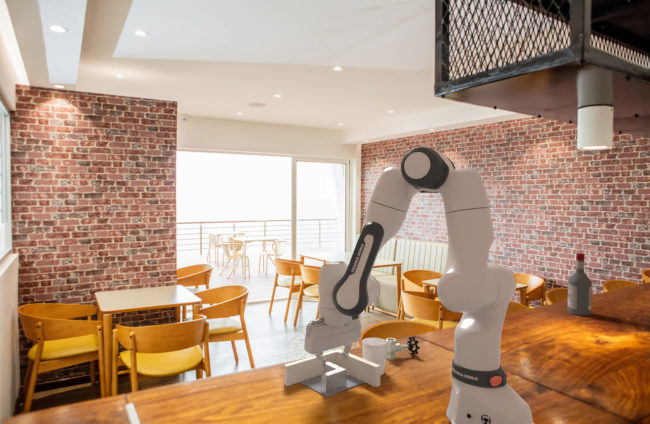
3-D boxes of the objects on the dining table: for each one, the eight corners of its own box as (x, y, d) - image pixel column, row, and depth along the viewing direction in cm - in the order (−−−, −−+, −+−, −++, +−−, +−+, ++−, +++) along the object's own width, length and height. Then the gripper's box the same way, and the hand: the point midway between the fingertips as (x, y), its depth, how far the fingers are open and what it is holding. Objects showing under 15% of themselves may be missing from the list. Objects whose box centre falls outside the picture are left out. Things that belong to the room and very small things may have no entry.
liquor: (572, 315, 215) (573, 254, 214) (566, 310, 224) (567, 252, 223) (592, 316, 213) (594, 255, 212) (585, 311, 222) (587, 253, 221)
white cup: (366, 378, 135) (367, 346, 135) (358, 368, 143) (358, 338, 142) (390, 375, 137) (390, 344, 137) (380, 366, 145) (380, 336, 144)
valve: (390, 362, 149) (419, 357, 154) (390, 342, 149) (419, 339, 154) (380, 355, 155) (409, 351, 160) (380, 337, 155) (409, 333, 160)
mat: (364, 383, 131) (364, 382, 131) (326, 397, 122) (326, 396, 122) (337, 371, 140) (337, 370, 140) (300, 383, 131) (300, 382, 131)
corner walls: (380, 385, 130) (380, 365, 130) (324, 407, 115) (324, 385, 115) (338, 367, 144) (338, 349, 144) (283, 384, 129) (284, 364, 129)
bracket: (346, 386, 128) (346, 369, 128) (325, 394, 123) (326, 376, 123) (328, 377, 134) (328, 361, 134) (308, 384, 129) (308, 368, 129)
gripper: (313, 323, 121) (314, 373, 121) (364, 312, 134) (364, 356, 134) (299, 319, 125) (299, 367, 125) (350, 308, 139) (350, 351, 139)
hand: (333, 361), depth 130 cm, fingers open, 8 cm apart
